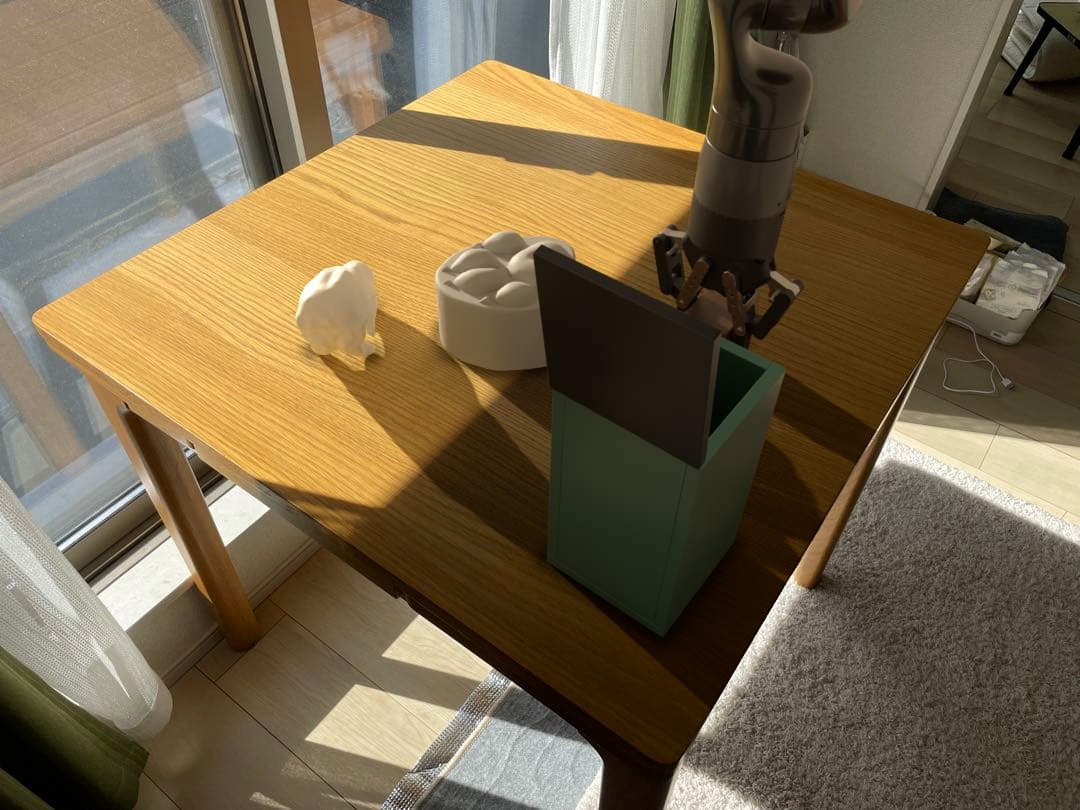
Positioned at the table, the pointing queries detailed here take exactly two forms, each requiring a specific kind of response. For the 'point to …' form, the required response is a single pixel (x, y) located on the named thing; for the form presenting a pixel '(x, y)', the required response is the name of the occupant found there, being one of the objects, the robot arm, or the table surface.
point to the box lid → (628, 355)
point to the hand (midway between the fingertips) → (709, 344)
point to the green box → (656, 495)
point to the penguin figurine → (339, 310)
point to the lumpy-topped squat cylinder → (494, 302)
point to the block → (712, 312)
